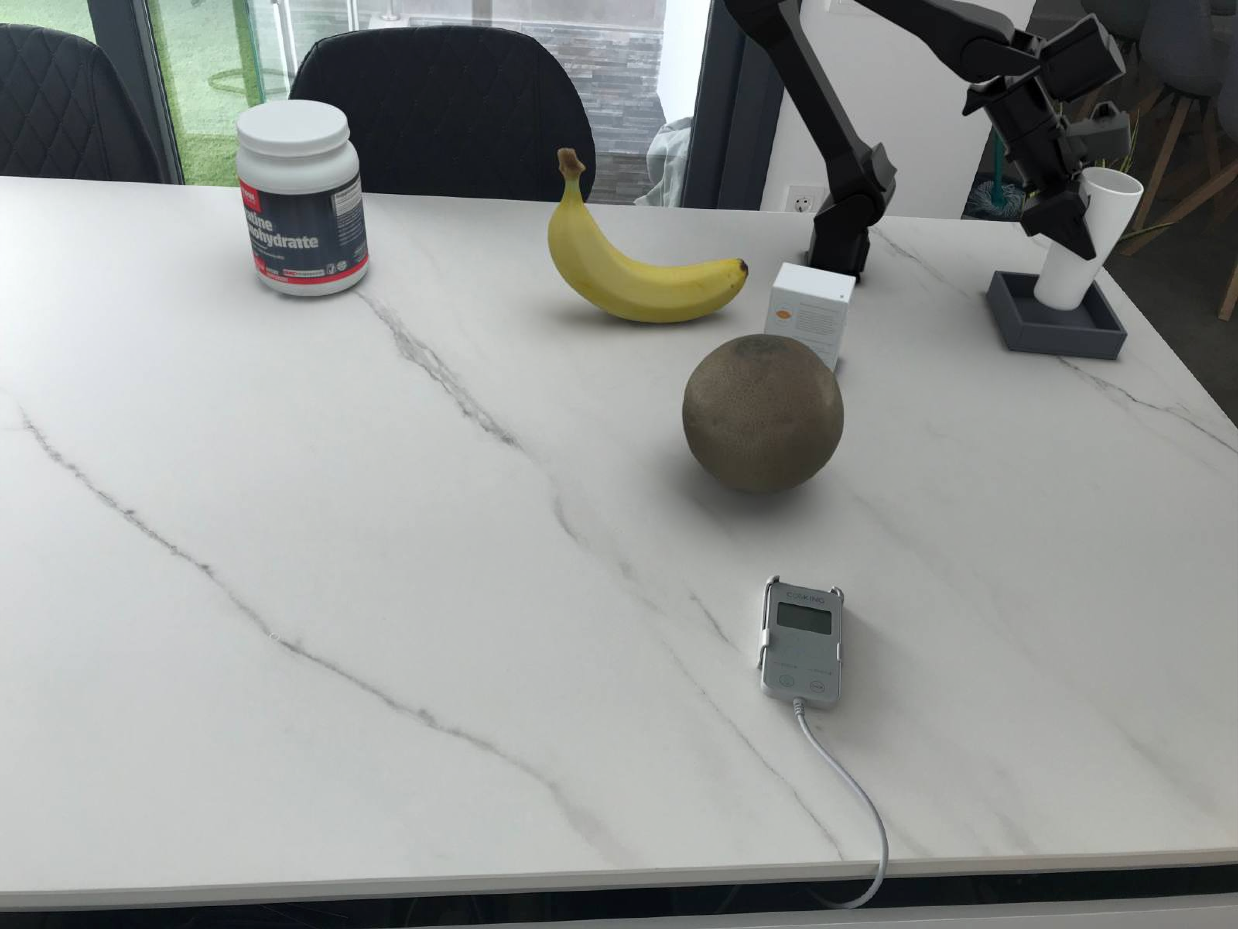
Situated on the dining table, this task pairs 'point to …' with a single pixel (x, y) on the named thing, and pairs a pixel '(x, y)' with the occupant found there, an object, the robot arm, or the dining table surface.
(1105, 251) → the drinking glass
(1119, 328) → the tray
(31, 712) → the dining table surface
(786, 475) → the cantaloupe
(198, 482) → the dining table surface
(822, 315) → the small box
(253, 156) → the supplement tub
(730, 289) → the banana
